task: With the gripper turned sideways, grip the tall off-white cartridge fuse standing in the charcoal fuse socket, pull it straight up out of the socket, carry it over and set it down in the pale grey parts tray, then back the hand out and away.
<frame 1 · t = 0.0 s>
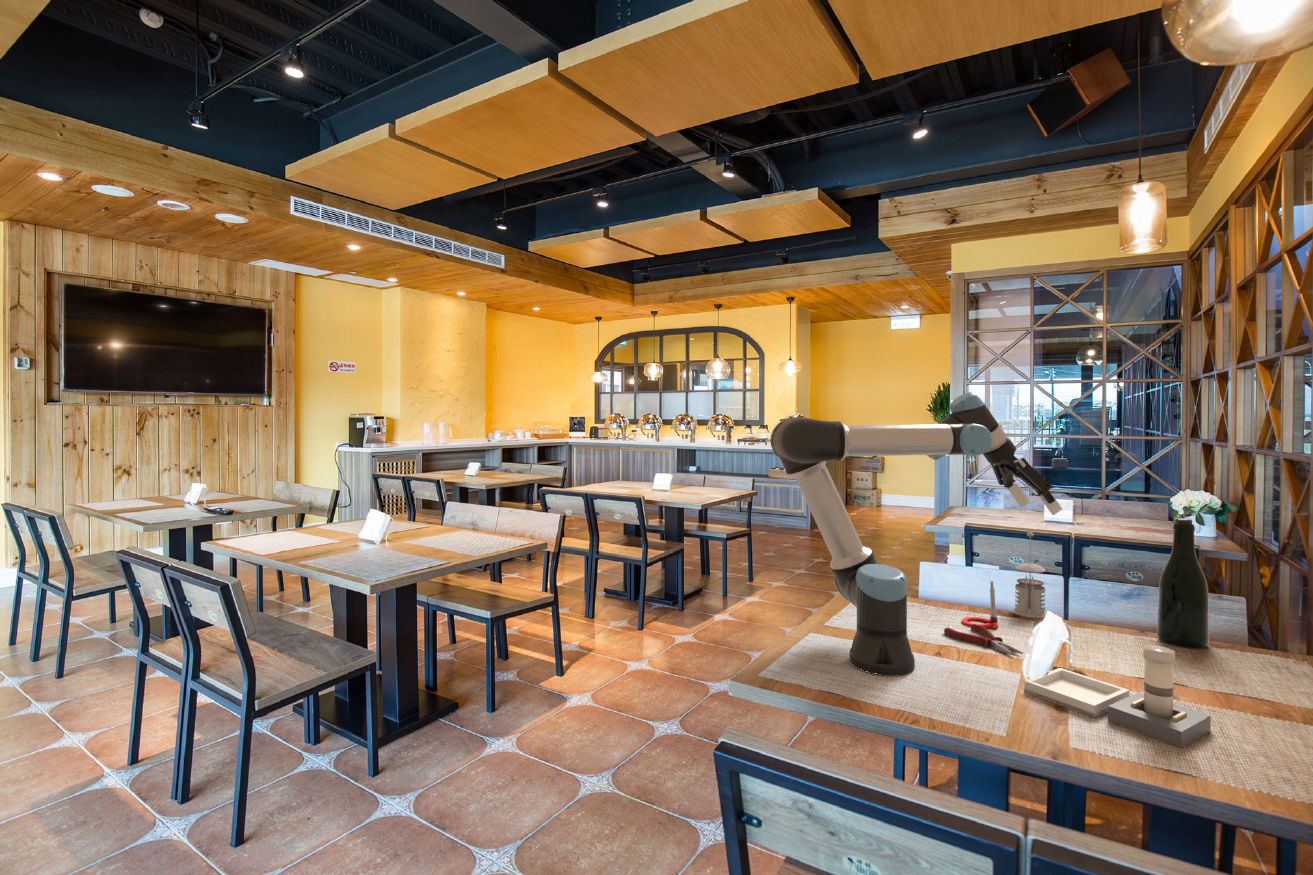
hand: (1040, 508, 168), 36 cm above the table, tool tilted 35°, fingers open, 13 cm apart
french press: (1029, 614, 193), on the table
fuse socket: (1158, 725, 123), on the table
parts tray: (1075, 696, 136), on the table
tow hook: (979, 625, 184), on the table
dark green wine bottle: (1182, 643, 167), on the table
fuse: (1158, 725, 123), resting in fuse socket
pliers: (978, 645, 169), on the table
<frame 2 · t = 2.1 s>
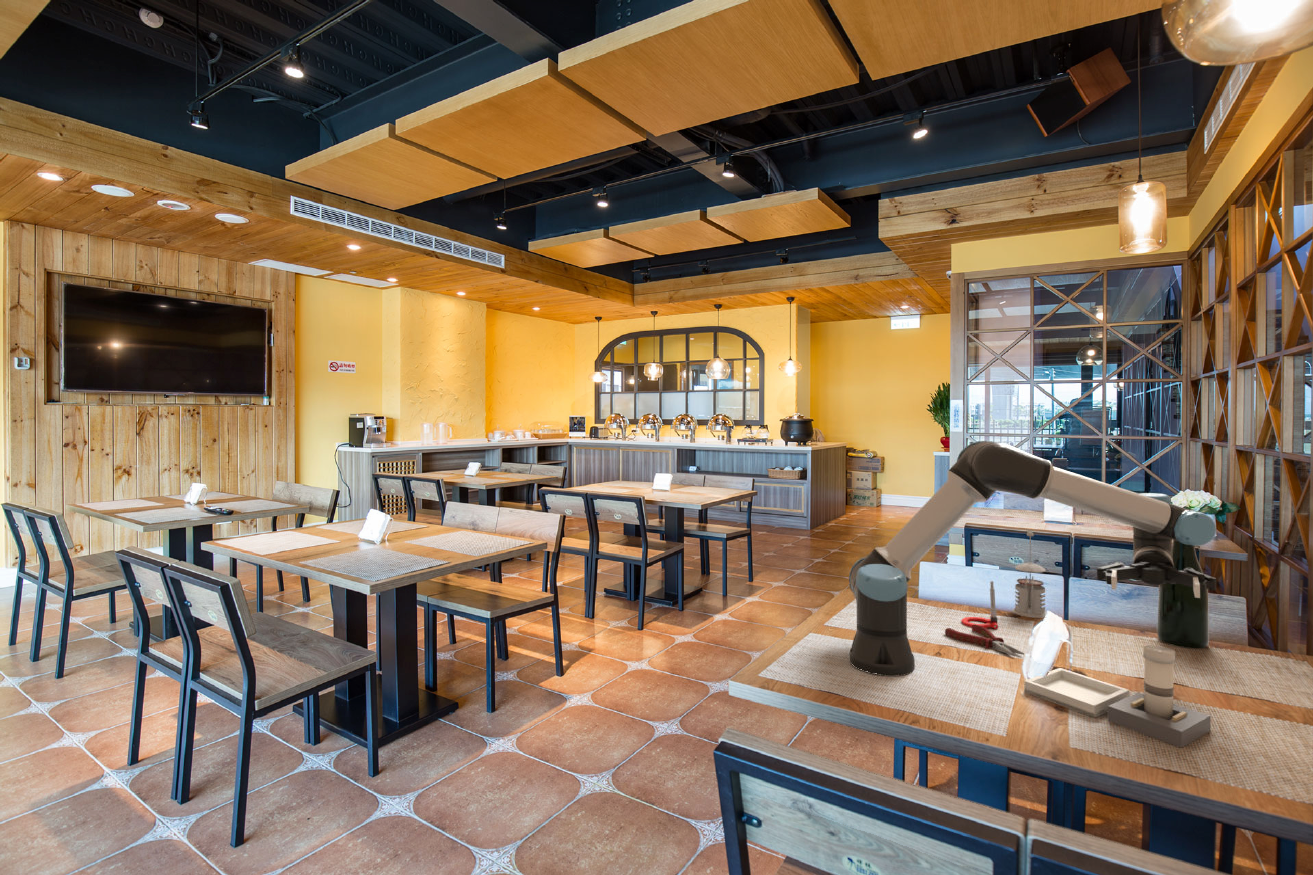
hand: (1154, 586, 130), 25 cm above the table, tool horizontal, fingers open, 13 cm apart
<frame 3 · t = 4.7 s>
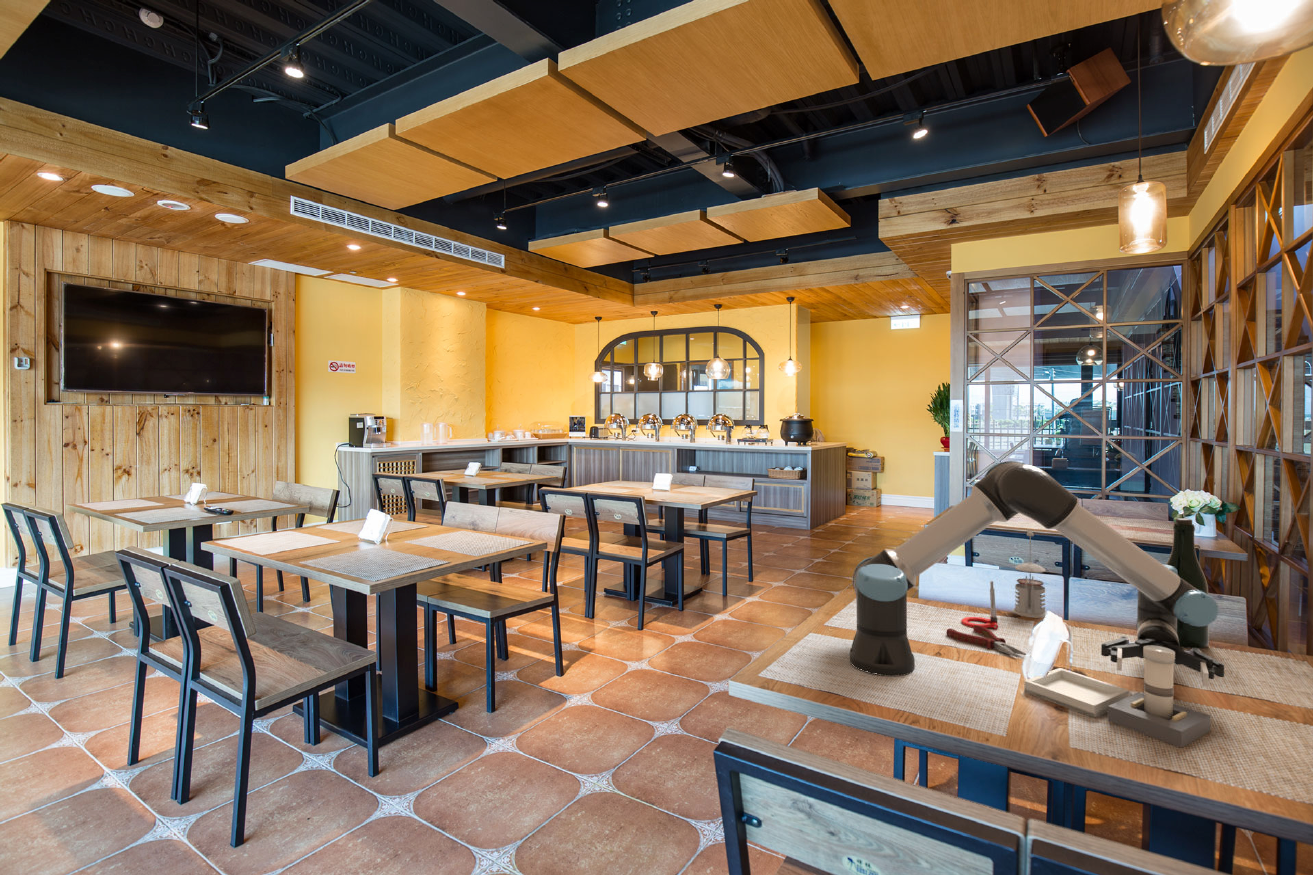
hand: (1161, 671, 127), 9 cm above the table, tool horizontal, fingers open, 13 cm apart
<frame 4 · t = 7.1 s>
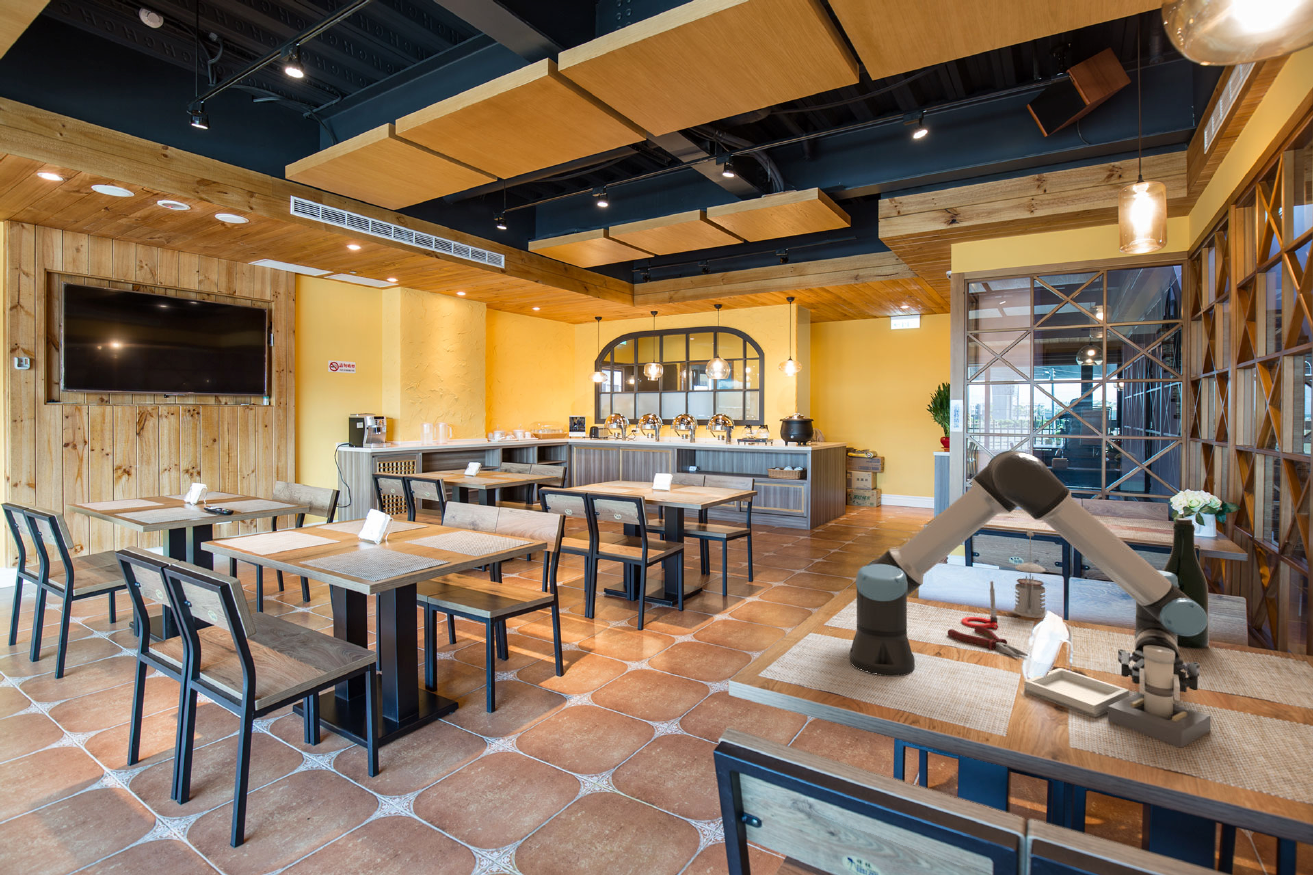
hand: (1159, 689, 118), 9 cm above the table, tool horizontal, fingers closed on fuse, 4 cm apart
fuse: (1158, 725, 123), resting in fuse socket, touching gripper
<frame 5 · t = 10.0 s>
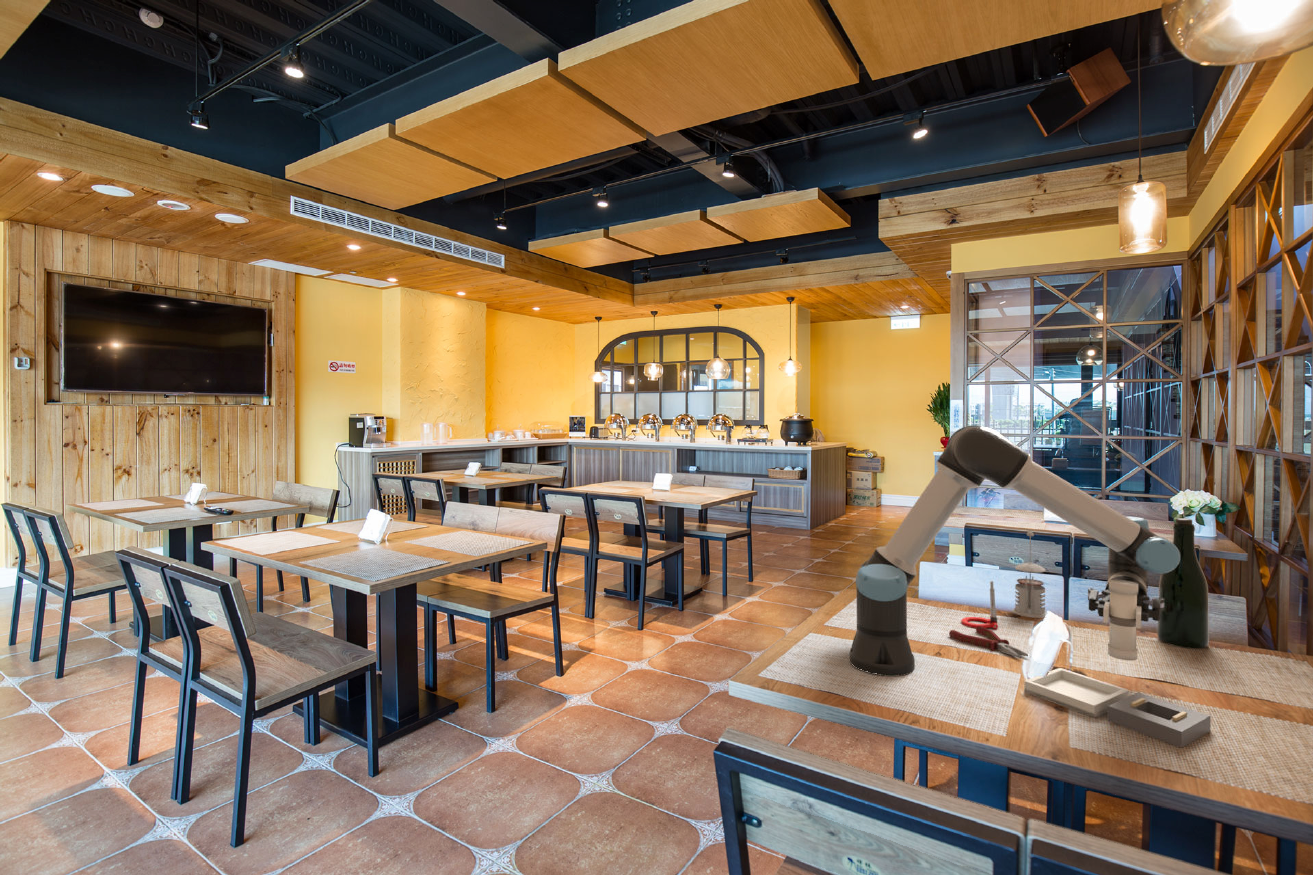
hand: (1121, 618, 124), 21 cm above the table, tool horizontal, fingers closed on fuse, 4 cm apart
fuse: (1122, 655, 128), point 12 cm above the table, touching gripper
when the fingers open (11 cm above the table, at t = 12.7 s): fuse drops 2 cm, resting on parts tray.
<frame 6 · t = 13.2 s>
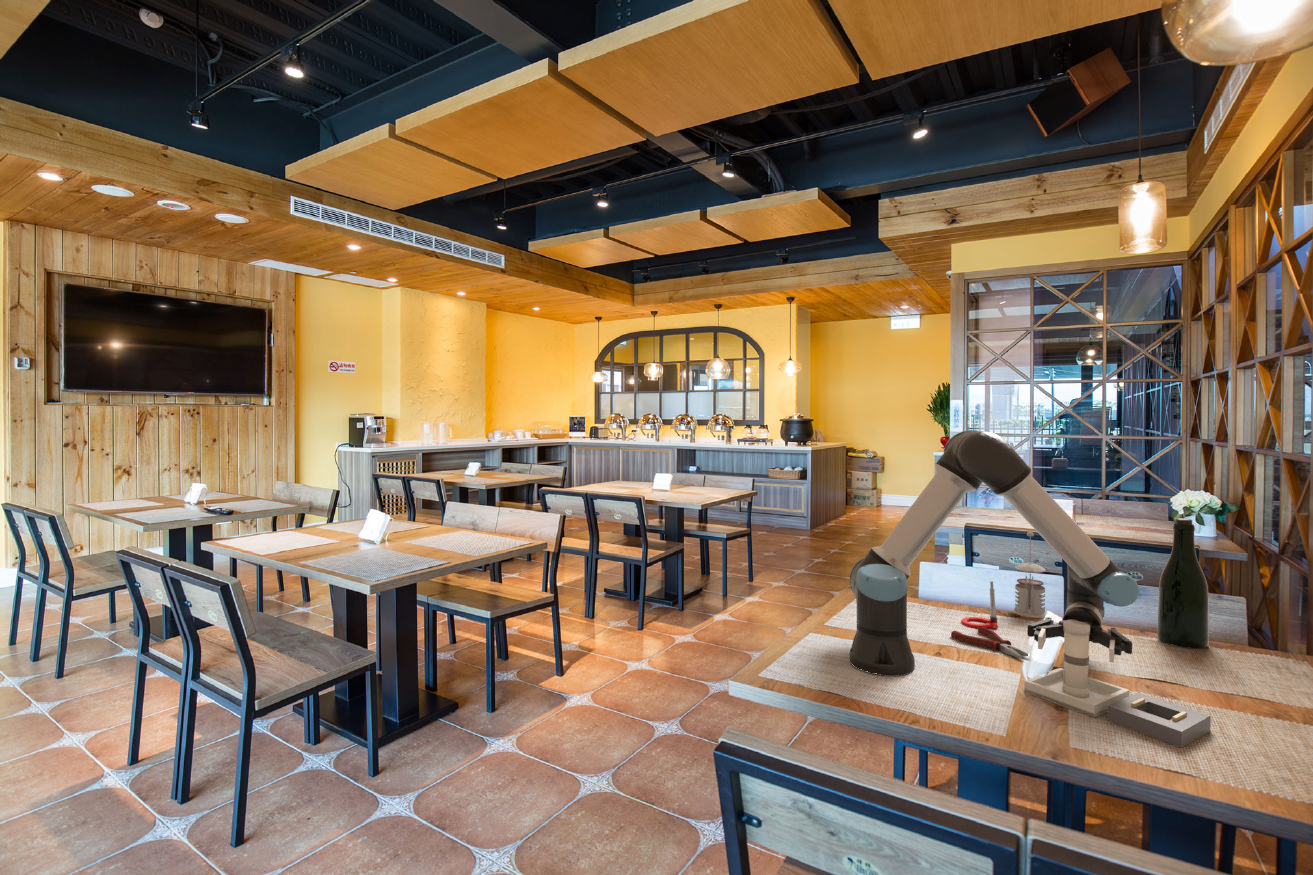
hand: (1074, 649, 133), 11 cm above the table, tool horizontal, fingers open, 12 cm apart
fuse: (1075, 692, 136), point 1 cm above the table, touching parts tray
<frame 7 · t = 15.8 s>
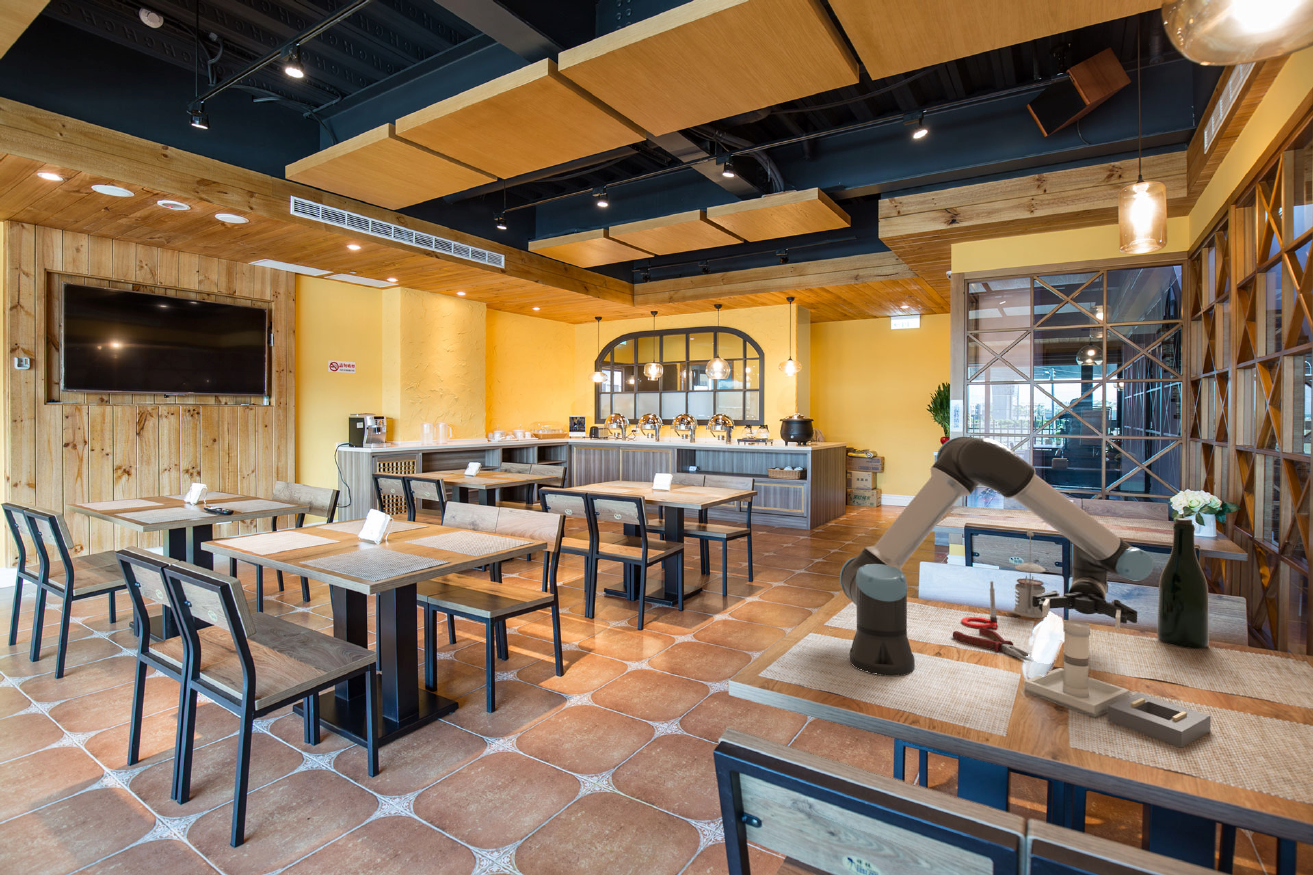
hand: (1079, 616, 141), 16 cm above the table, tool horizontal, fingers open, 13 cm apart
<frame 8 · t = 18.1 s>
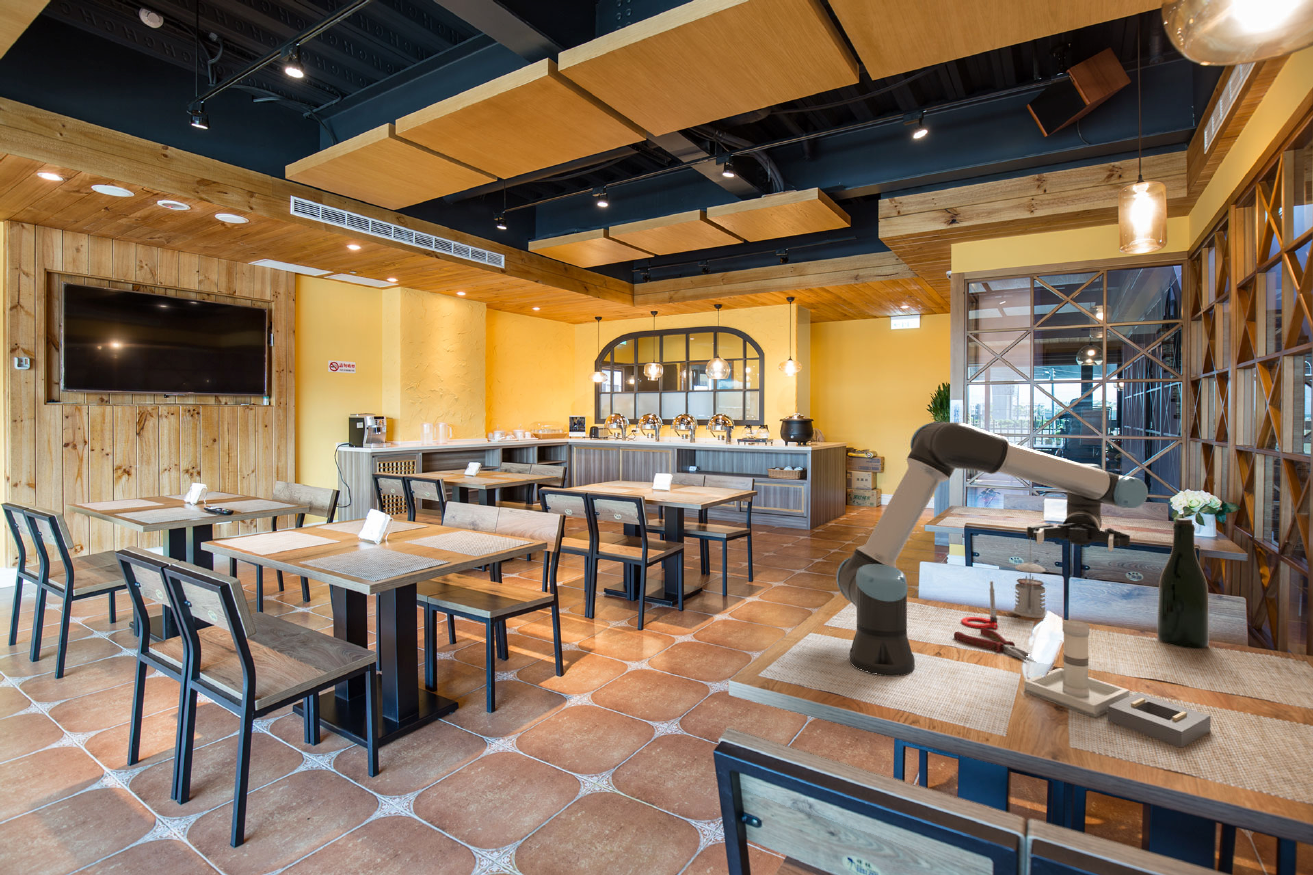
hand: (1073, 541, 143), 32 cm above the table, tool horizontal, fingers open, 13 cm apart
at the end: fuse inside the target area on the parts tray (0.0 cm from its centre), point 0.8 cm above the parts tray's base; the gripper is holding nothing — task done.
